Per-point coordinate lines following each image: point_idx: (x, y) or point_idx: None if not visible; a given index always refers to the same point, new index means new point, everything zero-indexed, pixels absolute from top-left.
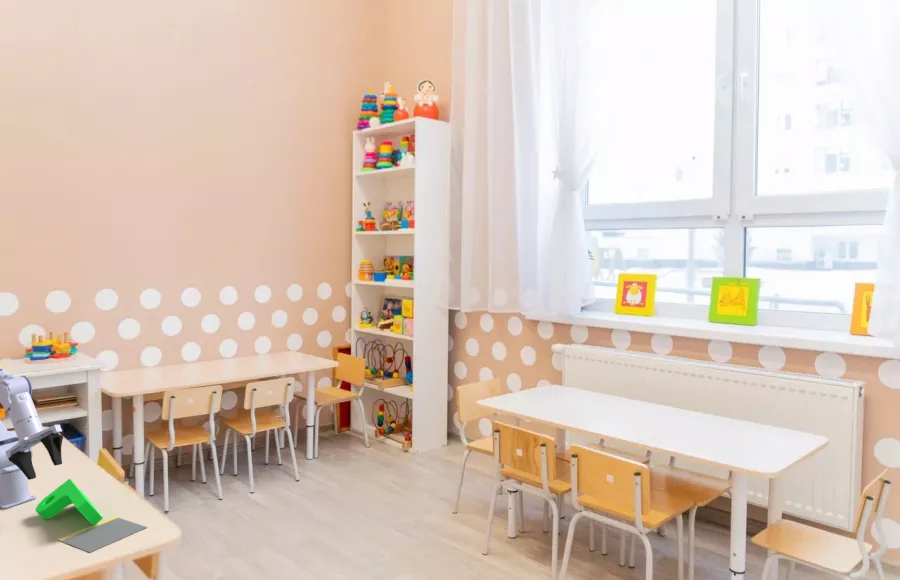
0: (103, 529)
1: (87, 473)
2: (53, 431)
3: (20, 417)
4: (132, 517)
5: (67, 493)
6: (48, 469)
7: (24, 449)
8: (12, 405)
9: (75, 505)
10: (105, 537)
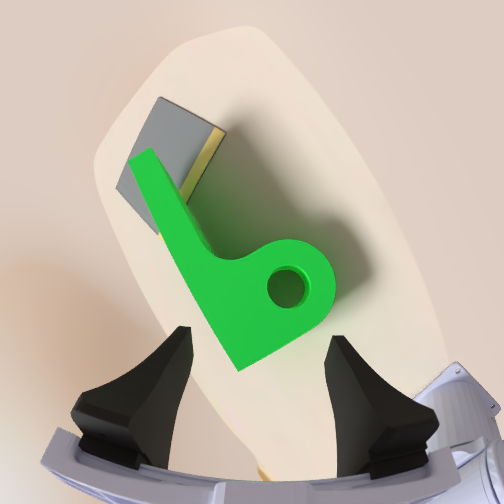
0: None
1: None
2: (68, 442)
3: None
4: (141, 234)
5: (210, 263)
6: None
7: (338, 480)
8: None
9: (157, 163)
10: (151, 147)
